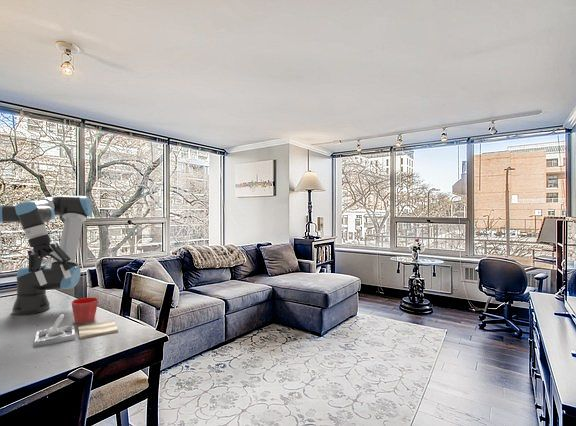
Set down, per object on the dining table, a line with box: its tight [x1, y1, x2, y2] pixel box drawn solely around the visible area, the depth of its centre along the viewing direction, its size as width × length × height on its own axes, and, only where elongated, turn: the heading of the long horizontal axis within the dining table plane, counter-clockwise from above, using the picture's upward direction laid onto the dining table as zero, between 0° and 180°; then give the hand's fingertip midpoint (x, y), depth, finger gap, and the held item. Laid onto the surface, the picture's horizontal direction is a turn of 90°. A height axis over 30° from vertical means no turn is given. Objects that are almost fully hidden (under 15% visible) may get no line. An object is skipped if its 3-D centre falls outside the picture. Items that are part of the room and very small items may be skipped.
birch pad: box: [77, 320, 119, 340], centre depth 140 cm, size 14×14×1 cm
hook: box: [43, 313, 68, 339], centre depth 131 cm, size 8×12×7 cm
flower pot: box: [71, 297, 99, 324], centre depth 152 cm, size 11×11×10 cm
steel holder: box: [33, 324, 76, 347], centre depth 131 cm, size 13×13×2 cm
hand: (56, 281), depth 142 cm, fingers open, 13 cm apart
